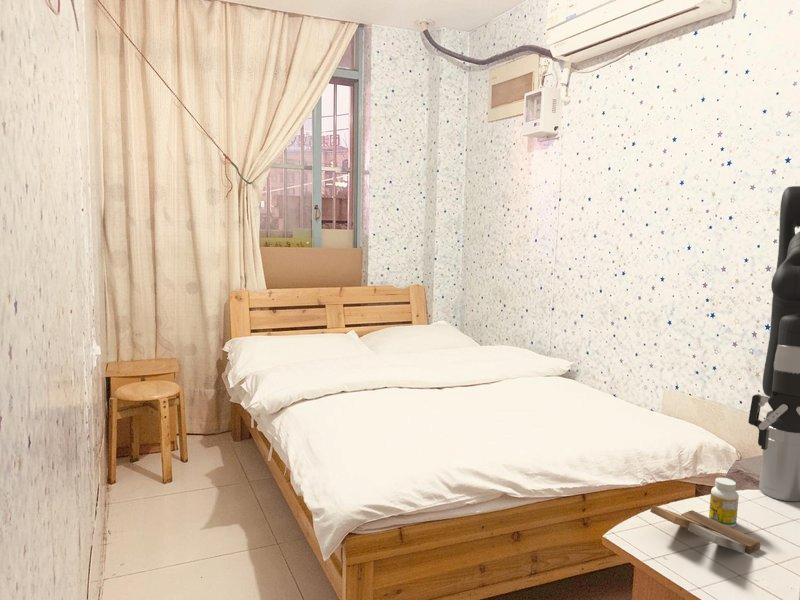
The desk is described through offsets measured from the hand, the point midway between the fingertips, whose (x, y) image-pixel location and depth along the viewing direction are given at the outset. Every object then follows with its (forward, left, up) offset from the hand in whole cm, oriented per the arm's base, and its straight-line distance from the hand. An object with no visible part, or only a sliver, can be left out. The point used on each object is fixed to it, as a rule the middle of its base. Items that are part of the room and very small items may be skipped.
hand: (789, 454), depth 111 cm
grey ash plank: (+8, -8, -20) cm, 23 cm away
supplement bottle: (-6, -15, -23) cm, 28 cm away
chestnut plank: (+8, -16, -20) cm, 27 cm away
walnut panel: (0, -12, -22) cm, 25 cm away
